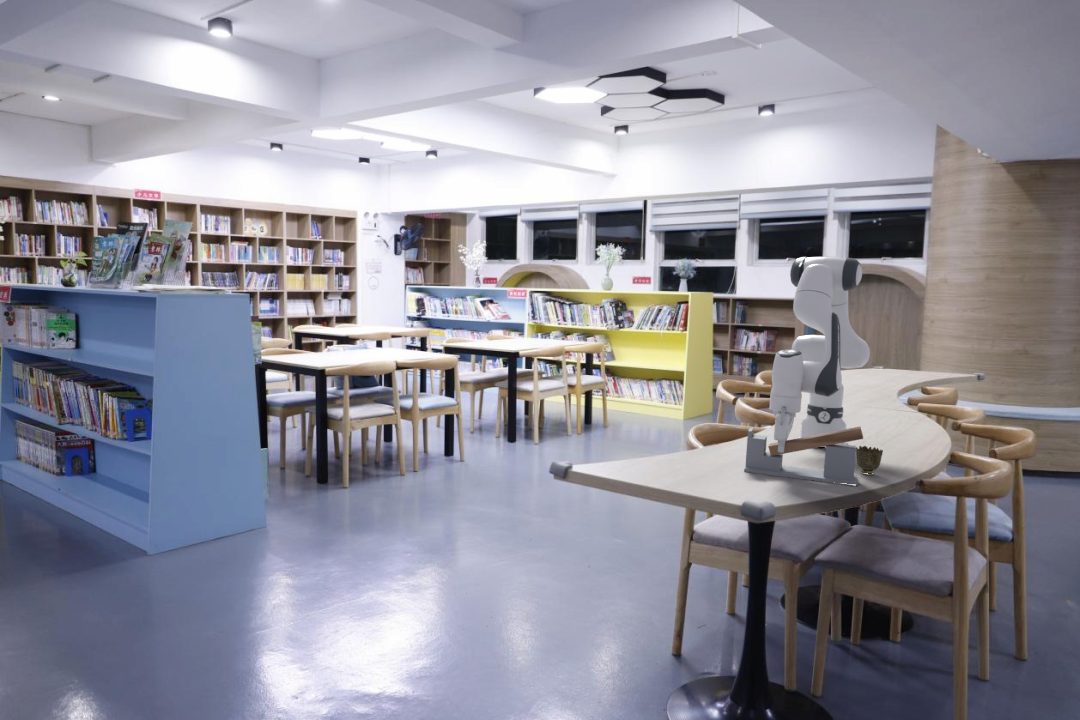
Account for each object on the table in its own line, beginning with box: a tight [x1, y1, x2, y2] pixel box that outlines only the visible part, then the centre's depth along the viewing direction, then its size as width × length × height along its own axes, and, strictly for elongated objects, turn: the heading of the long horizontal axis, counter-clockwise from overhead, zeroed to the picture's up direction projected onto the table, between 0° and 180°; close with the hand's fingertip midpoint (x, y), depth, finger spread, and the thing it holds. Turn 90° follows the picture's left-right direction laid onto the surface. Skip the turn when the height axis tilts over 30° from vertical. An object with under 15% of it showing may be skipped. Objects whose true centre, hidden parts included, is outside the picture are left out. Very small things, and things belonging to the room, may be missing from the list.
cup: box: [855, 445, 884, 474], centre depth 223 cm, size 8×7×8 cm
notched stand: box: [743, 427, 858, 485], centre depth 218 cm, size 10×31×12 cm, turn 67°
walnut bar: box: [768, 425, 864, 456], centre depth 217 cm, size 4×26×11 cm, turn 67°
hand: (781, 450), depth 221 cm, fingers closed on walnut bar, 4 cm apart
